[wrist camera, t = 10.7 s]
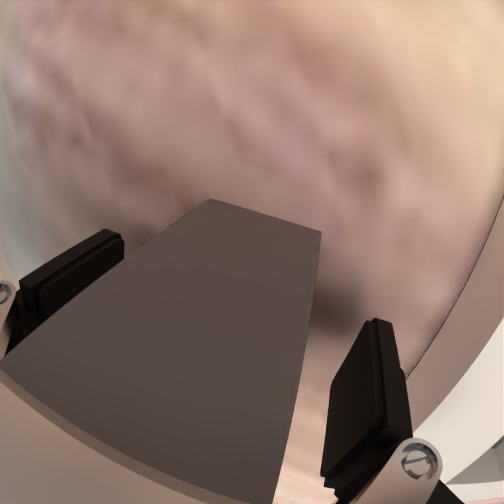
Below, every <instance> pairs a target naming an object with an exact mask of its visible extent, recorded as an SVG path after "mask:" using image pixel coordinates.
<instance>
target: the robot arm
mask: <svg viewBox="0 0 504 504" xmlns="http://www.w3.org/2000/svg"><path fill="white" fill-rule="evenodd" d="M122 260H124V240H123V239H122V237H121V235H120V234H119V233H116V232H113V231H111V230H108V229H103V230H101V231H100V232H98V233H96V234H94V235H92V236H91V237H89V238H87V239H85V240H84V241H82V242H80V243H79V244H77V245H75V246H73V247H72V248H70V249H68V250H67V251H65V252H63V253H62V254H60V255H58V256H57V257H55V258H54V259H52V260H50V261H49V262H47V263H45V264H44V265H42V266H41V267H39V268H38V269H36V270H34V271H33V272H31V273H30V274H28V275H27V276H25V277H24V278H22V279H21V280H19V285H20V289H19V290H18V291H17V292H16V288H15V286H14V285H13V284H12V283H10V282H8V281H3V280H2V281H0V360H2V359H3V358H4V357H5V356H6V355H7V354H8V353H9V352H10V351H11V350H13V349H14V348H15V347H16V346H17V345H18V344H19V343H21V342H22V341H23V340H24V339H25V338H26V337H27V336H29V335H30V334H31V333H32V332H33V331H34V330H36V329H37V328H38V327H39V326H40V325H41V324H43V323H44V322H45V321H46V320H47V319H49V318H50V317H51V316H52V315H53V314H55V313H56V312H57V311H58V310H59V309H61V308H62V307H63V306H64V305H66V304H67V303H68V302H69V301H71V300H72V299H73V298H74V297H76V296H77V295H78V294H79V293H81V292H82V291H83V290H84V289H86V288H87V287H88V286H90V285H91V284H92V283H93V282H95V281H96V280H97V279H99V278H100V277H101V276H102V275H104V274H105V273H106V272H108V271H109V270H110V269H112V268H113V267H114V266H116V265H117V264H118V263H120V262H121V261H122ZM442 469H443V463H442V458H441V455H440V453H439V452H438V450H437V449H436V447H434V446H433V445H432V444H431V443H430V442H428V441H426V440H424V439H420V438H413V430H412V422H411V414H410V406H409V399H408V393H407V386H406V380H405V374H404V371H403V370H402V369H401V368H400V362H399V357H398V351H397V346H396V341H395V336H394V331H393V326H392V323H391V322H388V321H385V320H381V319H378V318H373V319H372V321H368V320H367V321H366V322H365V323H364V325H363V327H362V329H361V331H360V333H359V335H358V336H357V338H356V340H355V342H354V344H353V346H352V347H351V349H350V351H349V353H348V355H347V356H346V358H345V360H344V362H343V363H342V365H341V367H340V369H339V370H338V372H337V374H336V376H335V377H334V379H333V381H332V384H331V387H330V396H329V407H328V416H327V425H326V434H325V442H324V450H323V457H322V464H321V471H320V476H321V477H325V481H324V487H327V488H333V489H335V492H334V495H335V496H336V497H337V499H336V500H335V501H334V502H333V503H332V504H464V503H463V502H462V501H461V500H460V499H459V498H458V497H457V496H456V495H455V494H454V493H453V492H452V491H451V490H450V489H449V488H448V487H447V486H446V485H445V484H444V483H443V482H442V481H441V480H440V479H439V478H440V476H441V473H442ZM0 504H250V503H246V502H243V501H239V500H236V499H233V498H229V497H226V496H223V495H220V494H217V493H214V492H211V491H208V490H206V489H203V488H200V487H197V486H195V485H192V484H190V483H187V482H185V481H182V480H180V479H177V478H175V477H172V476H170V475H168V474H165V473H163V472H161V471H158V470H156V469H154V468H152V467H150V466H148V465H145V464H143V463H141V462H139V461H137V460H135V459H133V458H131V457H129V456H127V455H125V454H123V453H121V452H120V451H118V450H116V449H114V448H112V447H110V446H109V445H107V444H105V443H103V442H102V441H100V440H98V439H96V438H95V437H93V436H91V435H90V434H88V433H86V432H85V431H83V430H82V429H80V428H78V427H77V426H75V425H74V424H72V423H71V422H69V421H68V420H66V419H65V418H63V417H62V416H60V415H59V414H57V413H56V412H55V411H53V410H52V409H50V408H49V407H48V406H46V405H45V404H43V403H42V402H41V401H39V400H38V399H37V398H35V397H34V396H33V395H31V394H30V393H29V392H28V391H26V390H25V389H24V388H23V387H21V386H20V385H19V384H18V383H16V382H15V381H14V380H13V379H12V378H10V377H9V376H8V375H7V374H6V373H5V372H3V371H2V370H1V369H0Z"/></svg>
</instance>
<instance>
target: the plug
mask: <svg viewBox="0 0 504 504" xmlns="http://www.w3.org/2000/svg"><path fill="white" fill-rule="evenodd" d="M320 240H321V232H320V231H317V230H314V229H310V228H307V227H304V226H301V225H298V224H294V223H291V222H288V221H285V220H281V219H278V218H275V217H271V216H268V215H265V214H261V213H258V212H255V211H251V210H248V209H245V208H241V207H238V206H234V205H231V204H227V203H224V202H220V201H217V200H213V199H209V200H207V201H206V202H204V203H203V204H201V205H200V206H199V207H197V208H196V209H194V210H193V211H191V212H190V213H188V214H187V215H185V216H184V217H182V218H181V219H179V220H178V221H177V222H175V223H174V224H172V225H171V226H169V227H168V228H167V229H165V230H164V231H162V232H161V233H159V234H158V235H157V236H155V237H154V238H152V239H151V240H150V241H148V242H147V243H145V244H144V245H143V246H141V247H140V248H139V249H137V250H136V251H134V252H133V253H132V254H130V255H129V256H128V257H126V258H125V259H124V260H122V261H121V262H120V263H118V264H117V265H116V266H114V267H113V268H112V269H110V270H109V271H108V272H106V273H105V274H104V275H102V276H101V277H100V278H99V279H97V280H96V281H95V282H93V283H92V284H91V285H90V286H88V287H87V288H86V289H84V290H83V291H82V292H81V293H79V294H78V295H77V296H76V297H74V298H73V299H72V300H71V301H69V302H68V303H67V304H66V305H64V306H63V307H62V308H61V309H59V310H58V311H57V312H56V313H55V314H53V315H52V316H51V317H50V318H49V319H47V320H46V321H45V322H44V323H43V324H41V325H40V326H39V327H38V328H37V329H36V330H34V331H33V332H32V333H31V334H30V335H29V336H27V337H26V338H25V339H24V340H23V341H22V342H21V343H19V344H18V345H17V346H16V347H15V348H14V349H13V350H11V351H10V352H9V353H8V354H7V355H6V356H5V357H4V358H3V359H2V360H0V369H1V370H2V371H3V372H5V373H6V374H7V375H8V376H9V377H10V378H12V379H13V380H14V381H15V382H16V383H18V384H19V385H20V386H21V387H23V388H24V389H25V390H26V391H28V392H29V393H30V394H31V395H33V396H34V397H35V398H37V399H38V400H39V401H41V402H42V403H43V404H45V405H46V406H48V407H49V408H50V409H52V410H53V411H55V412H56V413H57V414H59V415H60V416H62V417H63V418H65V419H66V420H68V421H69V422H71V423H72V424H74V425H75V426H77V427H78V428H80V429H82V430H83V431H85V432H86V433H88V434H90V435H91V436H93V437H95V438H96V439H98V440H100V441H102V442H103V443H105V444H107V445H109V446H110V447H112V448H114V449H116V450H118V451H120V452H121V453H123V454H125V455H127V456H129V457H131V458H133V459H135V460H137V461H139V462H141V463H143V464H145V465H148V466H150V467H152V468H154V469H156V470H158V471H161V472H163V473H165V474H168V475H170V476H172V477H175V478H177V479H180V480H182V481H185V482H187V483H190V484H192V485H195V486H197V487H200V488H203V489H206V490H208V491H211V492H214V493H217V494H220V495H223V496H226V497H229V498H233V499H236V500H239V501H243V502H246V503H250V504H272V502H273V498H274V494H275V490H276V486H277V482H278V478H279V474H280V470H281V466H282V462H283V458H284V453H285V449H286V445H287V440H288V436H289V431H290V426H291V422H292V417H293V412H294V407H295V402H296V397H297V392H298V386H299V381H300V376H301V370H302V365H303V359H304V353H305V347H306V341H307V335H308V329H309V322H310V316H311V309H312V302H313V295H314V288H315V281H316V273H317V265H318V257H319V249H320Z"/></svg>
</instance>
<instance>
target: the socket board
mask: <svg viewBox="0 0 504 504" xmlns="http://www.w3.org/2000/svg"><path fill="white" fill-rule="evenodd" d="M406 386H407V393H408V399H409V406H410V414H411V422H412V430H413V438H420V439H424V440H426V441H428V442H430V443H431V444H432V445H433V446H434V447H436V449H437V450H438V452H439V453H440V455H441V458H442V463H443V469H442V473H441V476H440V478H439V479H440V480H441V481H442V482H443V483H444V484H445V485H446V486H447V487H448V488H449V489H450V490H451V491H452V492H453V493H454V494H455V495H456V496H457V497H458V498H459V499H460V500H461V501H462V502H465V501H475V500H483V499H491V498H497V497H503V496H504V198H503V201H502V203H501V206H500V209H499V212H498V214H497V217H496V219H495V222H494V224H493V227H492V229H491V232H490V234H489V236H488V239H487V241H486V243H485V246H484V248H483V250H482V252H481V255H480V257H479V259H478V261H477V263H476V265H475V267H474V269H473V271H472V273H471V275H470V277H469V279H468V281H467V283H466V285H465V287H464V289H463V291H462V293H461V295H460V296H459V298H458V300H457V302H456V304H455V305H454V307H453V309H452V311H451V312H450V314H449V316H448V318H447V319H446V321H445V323H444V324H443V326H442V328H441V329H440V331H439V332H438V334H437V336H436V337H435V339H434V340H433V342H432V343H431V345H430V346H429V348H428V349H427V351H426V353H425V354H424V355H423V357H422V358H421V360H420V361H419V363H418V364H417V366H416V367H415V368H414V370H413V371H412V373H411V374H410V375H409V377H408V378H407V380H406Z"/></svg>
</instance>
